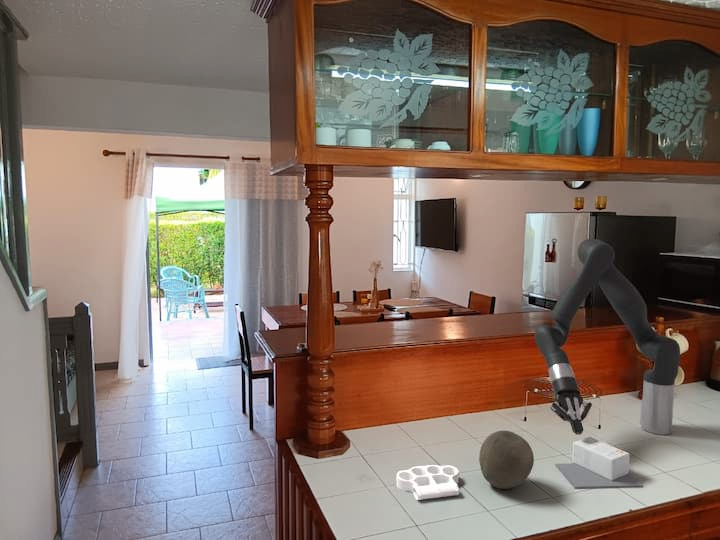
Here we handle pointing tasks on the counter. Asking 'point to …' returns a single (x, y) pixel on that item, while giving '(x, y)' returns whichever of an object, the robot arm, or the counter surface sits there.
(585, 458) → the small box
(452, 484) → the knuckle duster
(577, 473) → the mat
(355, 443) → the counter surface
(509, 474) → the cantaloupe
